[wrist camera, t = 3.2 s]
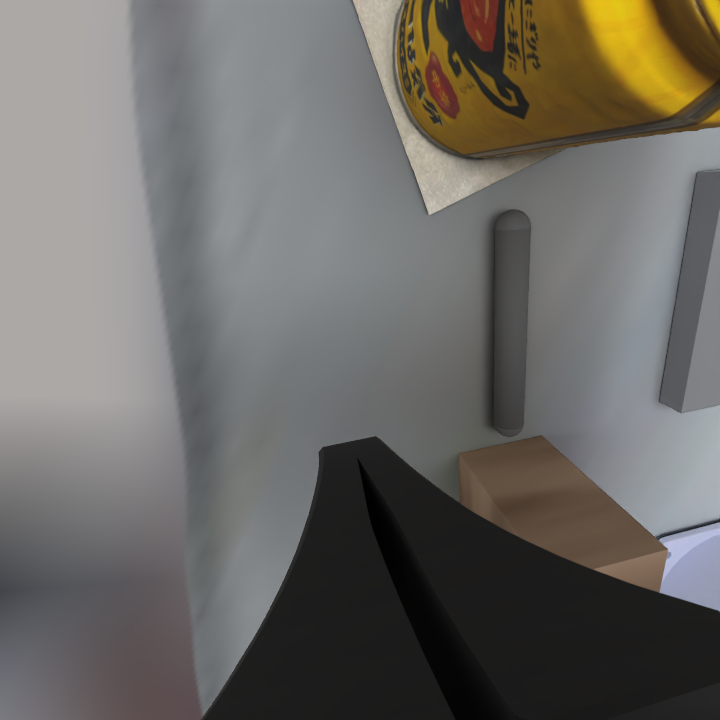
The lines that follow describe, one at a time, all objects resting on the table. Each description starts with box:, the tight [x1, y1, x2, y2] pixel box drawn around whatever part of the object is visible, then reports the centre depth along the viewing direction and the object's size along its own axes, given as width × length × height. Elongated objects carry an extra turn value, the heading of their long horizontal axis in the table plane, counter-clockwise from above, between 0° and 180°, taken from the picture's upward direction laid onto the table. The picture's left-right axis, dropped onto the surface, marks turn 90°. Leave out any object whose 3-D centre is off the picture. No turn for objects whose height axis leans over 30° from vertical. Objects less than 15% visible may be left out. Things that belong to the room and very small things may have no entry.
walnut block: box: [459, 436, 668, 592], centre depth 18 cm, size 4×4×7 cm
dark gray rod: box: [494, 210, 531, 437], centre depth 17 cm, size 9×1×1 cm, turn 6°
